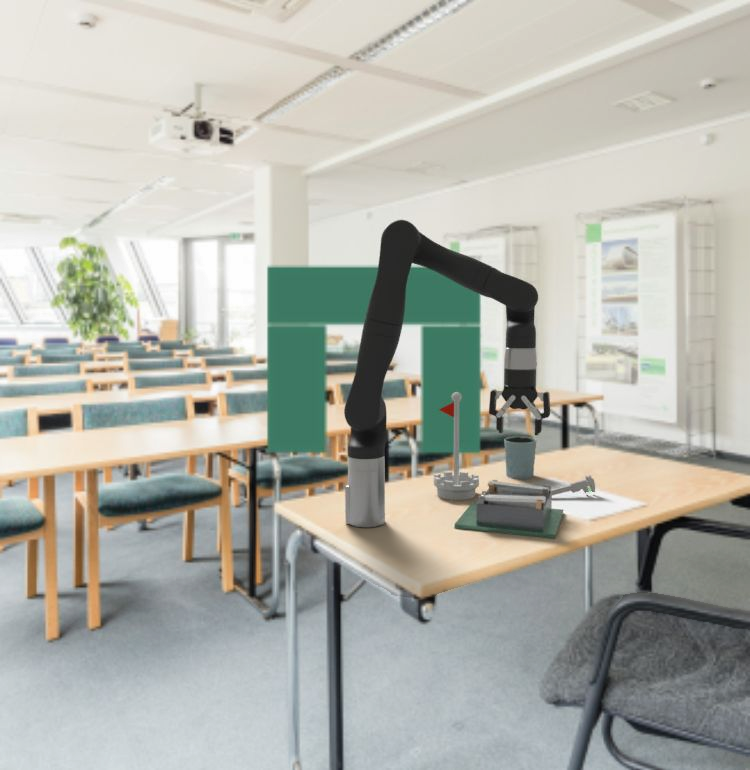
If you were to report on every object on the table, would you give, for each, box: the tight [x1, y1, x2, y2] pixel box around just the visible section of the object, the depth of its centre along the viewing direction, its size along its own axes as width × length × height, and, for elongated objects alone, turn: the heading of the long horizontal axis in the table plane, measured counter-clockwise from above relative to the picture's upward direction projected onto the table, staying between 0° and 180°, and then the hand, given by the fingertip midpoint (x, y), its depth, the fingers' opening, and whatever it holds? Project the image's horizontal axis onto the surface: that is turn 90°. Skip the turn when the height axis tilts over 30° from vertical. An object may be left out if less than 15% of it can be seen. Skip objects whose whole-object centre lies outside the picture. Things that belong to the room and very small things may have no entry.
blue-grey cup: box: [503, 435, 538, 480], centre depth 217 cm, size 10×10×12 cm
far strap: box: [487, 480, 550, 493], centre depth 177 cm, size 16×3×1 cm, turn 70°
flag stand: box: [433, 391, 480, 501], centre depth 195 cm, size 13×13×30 cm
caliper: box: [551, 474, 596, 496], centre depth 192 cm, size 20×1×6 cm, turn 101°
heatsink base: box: [454, 479, 565, 540], centre depth 171 cm, size 24×21×8 cm
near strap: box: [481, 493, 546, 503], centre depth 166 cm, size 16×3×1 cm, turn 69°
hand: (518, 433), depth 163 cm, fingers open, 8 cm apart
